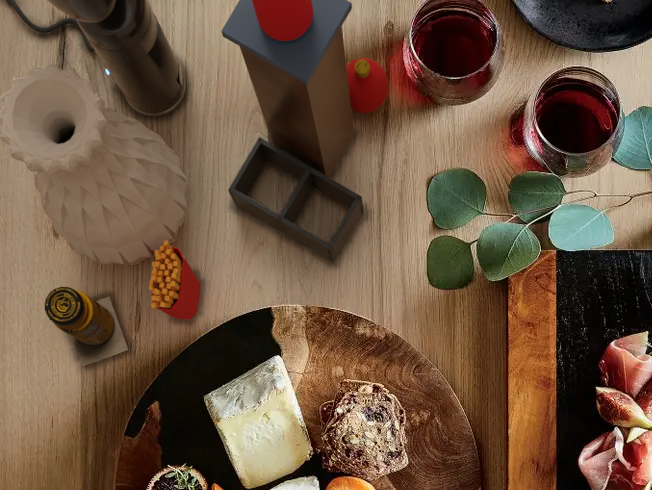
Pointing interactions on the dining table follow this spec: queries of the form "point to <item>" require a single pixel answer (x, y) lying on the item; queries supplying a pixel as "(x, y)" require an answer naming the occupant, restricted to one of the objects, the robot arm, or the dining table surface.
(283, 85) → the post
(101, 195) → the vase
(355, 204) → the rack
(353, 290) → the dining table surface
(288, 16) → the beverage can
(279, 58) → the gray square slab
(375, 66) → the christmas ornament
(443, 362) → the dining table surface
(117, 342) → the condiment
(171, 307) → the french fries
